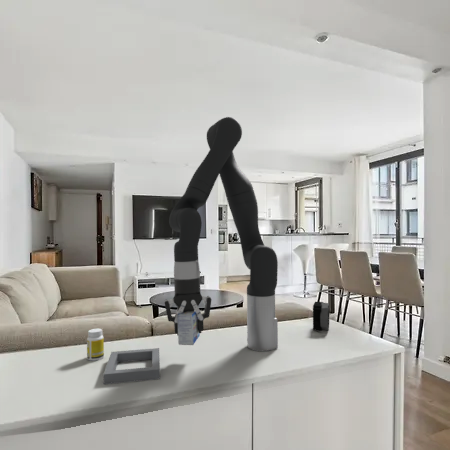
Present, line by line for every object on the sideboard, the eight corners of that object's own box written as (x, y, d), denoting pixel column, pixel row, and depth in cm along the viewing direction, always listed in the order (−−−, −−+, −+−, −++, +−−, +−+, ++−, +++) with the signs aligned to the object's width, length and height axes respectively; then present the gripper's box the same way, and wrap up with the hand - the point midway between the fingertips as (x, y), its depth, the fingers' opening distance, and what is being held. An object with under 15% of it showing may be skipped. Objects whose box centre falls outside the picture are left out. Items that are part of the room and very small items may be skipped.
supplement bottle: (107, 356, 106) (106, 328, 106) (96, 361, 101) (96, 333, 101) (94, 354, 107) (94, 327, 107) (83, 359, 103) (83, 331, 103)
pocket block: (159, 356, 105) (159, 348, 105) (159, 378, 89) (159, 369, 89) (111, 360, 102) (111, 351, 102) (103, 384, 86) (103, 374, 86)
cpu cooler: (328, 334, 125) (327, 306, 125) (312, 332, 127) (311, 305, 127) (330, 326, 135) (329, 300, 135) (315, 324, 137) (314, 299, 137)
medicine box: (193, 345, 96) (192, 314, 96) (177, 345, 97) (177, 314, 97) (199, 336, 104) (199, 308, 104) (185, 336, 105) (184, 307, 105)
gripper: (209, 273, 106) (211, 327, 106) (161, 276, 102) (163, 332, 102) (213, 276, 98) (215, 335, 98) (162, 279, 95) (164, 340, 95)
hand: (189, 333), depth 100 cm, fingers closed on medicine box, 5 cm apart
